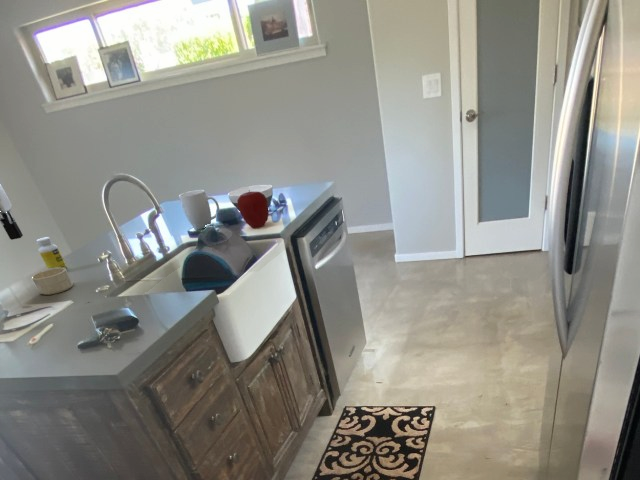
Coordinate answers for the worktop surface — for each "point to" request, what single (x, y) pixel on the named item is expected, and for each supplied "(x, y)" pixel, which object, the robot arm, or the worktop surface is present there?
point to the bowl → (264, 189)
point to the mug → (197, 208)
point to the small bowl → (52, 281)
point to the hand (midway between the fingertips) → (16, 237)
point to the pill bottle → (50, 254)
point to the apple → (253, 208)
